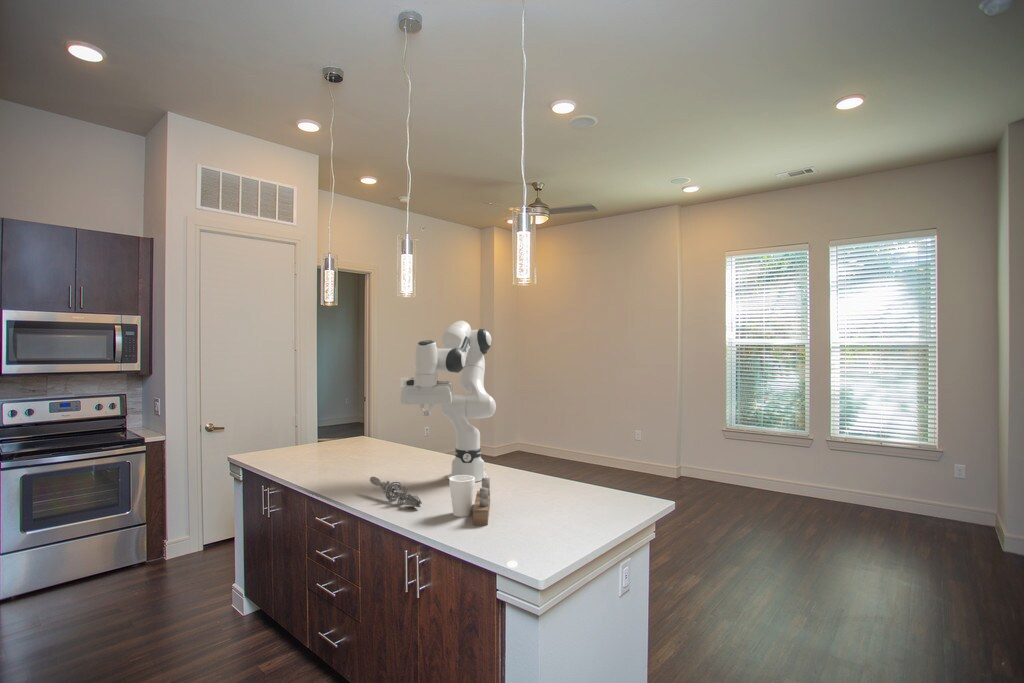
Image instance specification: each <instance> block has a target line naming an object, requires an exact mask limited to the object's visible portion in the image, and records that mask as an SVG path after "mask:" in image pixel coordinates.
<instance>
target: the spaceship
mask: <svg viewBox="0 0 1024 683" xmlns="http://www.w3.org/2000/svg"><path fill="white" fill-rule="evenodd" d="M369 481H370V483H371V484H372V485H374V486H376V487H380V488H381V490H382V492H383V493H384V495H385V496H384V497H385V498H386V499H387V500H388V501H390V502H394V501H396V500H397V502H396V503H397V504H398V505H400V506H403V504H405V506H410V507H415V508H421V507H422V506H421V505H422V504H423V502H422V499H421V498H420V497H419V496H418V495H417V494H416V495H415V494H414V495H413V494H411V493H408V491H409V487H407V486H404V485H402V483H401V482H400V481H398V480H395V481H392V482H390V481H389V480H386V482H383V481H381V479H380V478H378V477H376V476H371V477H370V478H369Z"/></svg>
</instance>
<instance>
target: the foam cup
mask: <svg viewBox="0 0 1024 683" xmlns="http://www.w3.org/2000/svg"><path fill="white" fill-rule="evenodd" d="M448 483H449V484H448V486H449V488H450V498H451V505H452V513H453V516H455V517H459V518H462V517H463V518H464V517H469V516H470V515H471V512H472V506H473V499H474V498H473V497H474V492H475V491H474V489H475V485H476V482H475V477H473V476H469V475H456V476H452V477H450V478H449V479H448Z"/></svg>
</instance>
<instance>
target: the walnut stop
mask: <svg viewBox="0 0 1024 683" xmlns="http://www.w3.org/2000/svg"><path fill="white" fill-rule="evenodd" d="M490 479H491V478H490V477H488V478H482V480H481V487H480V488H479V490H477V491H476V494H475V496H476V497H475V499H474V500H475V501H474V505H473V510H472V525H473V526H488V525H489V516H490V508H491V487H490V486H491V485H490V484H491V481H490Z"/></svg>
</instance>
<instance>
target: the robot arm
mask: <svg viewBox="0 0 1024 683" xmlns="http://www.w3.org/2000/svg"><path fill="white" fill-rule="evenodd" d="M441 342H442V345H443V347H444V348H438V347H437V342H436V341H435V340H429V339H427V340H421V341H419V342H417V344H416V346H415V367H416V368H415V372H414V373H415V375H414V377H411V378H408V379H405V380H404V381H403V387H402V388H401V393H400V403H401V404H402V405H419V408H420V410H421V412H422V416H425V417H430V416H431V414H432V413H431V412H432V410H433V408H434V405H440V411H441V413H442V415H443V416H444V417H445V418H447V419H448V420H449V421H450V423H451V425H452V427H453V429H454V434H455V445H456V446H455V449H454V456H455V457H454V458H453V459H452V460H451V471H450V472H451V473H450V474H449V475H448V476H447V480H449V478H450V477H452V476H456V475H469V476H473V477H475V483H477V482H480V481H481V482H482V478H489V476H488V474H487V472H486V471H485V470H486V469H485V460H483V458H482V457H481V456H482V448H481V433H480V430H479V429H478V428H477V427H475V426H474V425H472V424H470V423H469V421H468V419H479V420H481V419H482V420H483V419H486V418H491V417H493V416H494V414H495V412H496V410H497V404H496V403H497V402H496V401H495V399H494V397H493V396H491V395H490V394H489V393H488V392H487V391H486V388H485V385H484V384H485V382H484V381H485V372H486V369H485V368H486V361H485V359H486V358H485V356H484V355H486V354H487V353H488V351H489V350H490V348H491V346H492V335H491V332H489V330H488V329H487V328H479V329H472V327H471V325H470V324H469V323H468V322H467V321H466V320H457V321H455V322H453V323H451V324H450V325H449V326H448V327H447V328H446V329H445V330H444V332H443V334H442V336H441ZM438 372H439V373H440V372H443V373H445V372H446V373H458V374H459V373H460V372H461V376H460V381H459V383H460V387H461V389H463V390H464V391H466V392H467V393H469V394H456V393H455V394H452V391H453V388H454V386H453V383H451V381H449V380H445V381H444V380H439V378H438V377H439V376H438V375H439V373H438ZM425 405H428V407H429V409H428V410H425V408H424V407H425Z"/></svg>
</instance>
